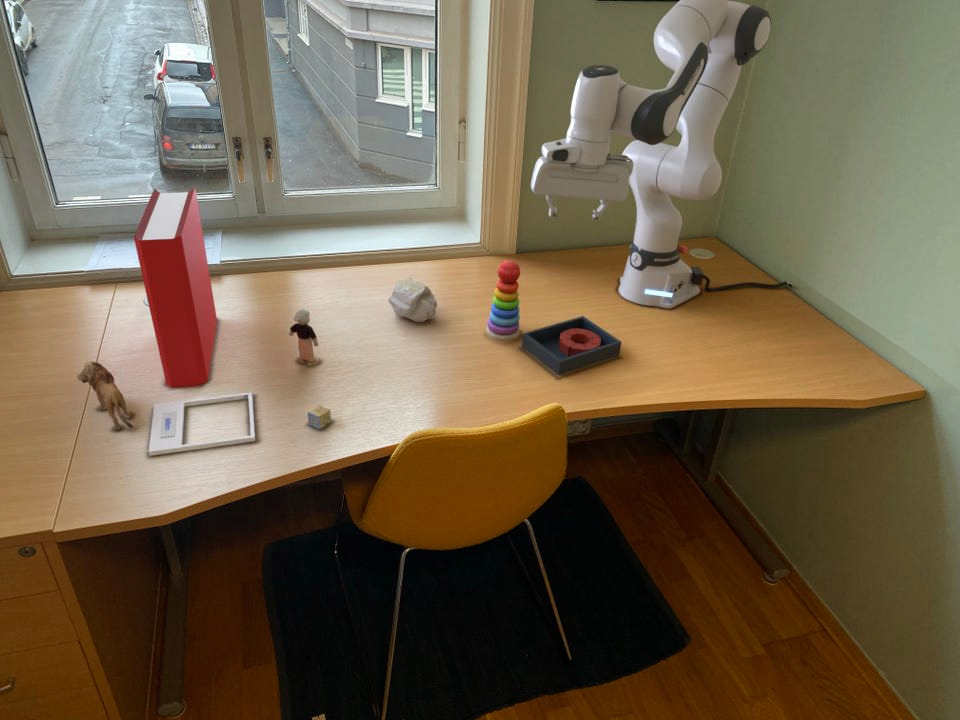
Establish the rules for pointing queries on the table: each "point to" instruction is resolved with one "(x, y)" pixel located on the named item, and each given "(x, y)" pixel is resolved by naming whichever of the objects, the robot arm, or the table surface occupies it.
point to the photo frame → (171, 422)
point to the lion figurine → (105, 391)
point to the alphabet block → (319, 417)
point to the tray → (547, 342)
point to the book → (178, 286)
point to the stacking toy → (505, 304)
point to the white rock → (413, 300)
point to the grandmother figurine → (304, 337)
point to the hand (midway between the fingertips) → (574, 217)
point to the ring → (580, 336)
